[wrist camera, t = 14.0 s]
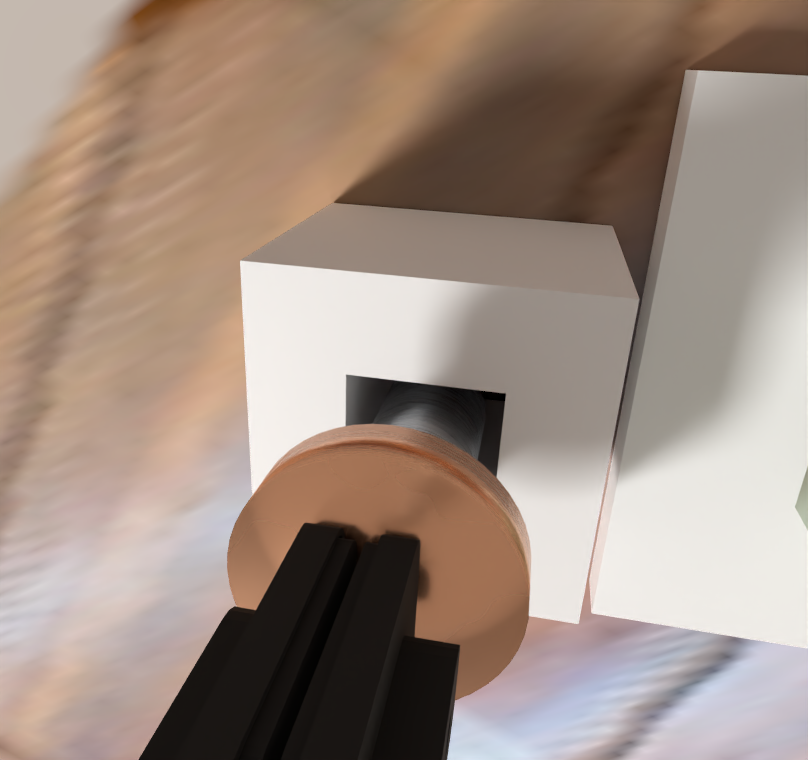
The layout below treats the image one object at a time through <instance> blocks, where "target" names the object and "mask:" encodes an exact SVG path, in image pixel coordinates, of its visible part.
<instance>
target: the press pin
mask: <svg viewBox="0 0 808 760" xmlns="http://www.w3.org/2000/svg"><path fill="white" fill-rule="evenodd" d="M485 418H486V407H485V402H484V398H483V396H482V394H481V392H480V390H472V389H464V388H455V387H447V386H439V385H430V384H422V383H413V382H405V381H397V380H395V381H394V382H393V384H392V386H391V387H390V389H389V391H388V393H387V395H386V397H385V399H384V401H383V403H382V405H381V407H380V409H379V411H378V413H377V415H376V417H375V419H374V421H373V423H372V424H359V425H350V426H344V427H339V428H334V429H331V430H328V431H325V432H322V433H319V434H316V435H314V436H312V437H310V438H308V439H306V440H304V441H302V442H301V443H299V444H298V445H296V446H295V447H293V448H292V449H290V450H289V451H288V452H287V453H286V454H285V455H284V456H282V457H281V458H280V459H279V460H278V461H277V462H276V464H275V465H274V466H273V468H272V469H271V470H270V471H269V473H268V474H267V475H266V477H265V478H264V480H263V481H262V483H261V484H260V485H259V487H258V488H257V490H256V491H255V493H254V494H253V496H252V497H251V498H250V500H249V501H248V503H247V504H246V506H245V507H244V508H243V510H242V512H241V514H240V515H239V517H238V519H237V521H236V523H235V525H234V528H233V531H232V534H231V537H230V541H229V547H228V553H227V570H228V577H229V583H230V587H231V591H232V594H233V598H234V601H235V603H236V605H237V607H241V608H247V609H253V610H256V609H257V607H258V605H259V603H260V602H261V600H262V598H263V596H264V594H265V592H266V591H267V589H268V587H269V585H270V583H271V581H272V580H273V578H274V576H275V574H276V572H277V570H278V569H279V567H280V565H281V563H282V561H283V559H284V558H285V556H286V554H287V552H288V550H289V549H290V547H291V545H292V543H293V541H294V539H295V538H296V536H297V534H298V532H299V530H300V528H301V527H302V525H303V524H304V523H313V524H320V525H326V526H333V527H340V528H343V529H344V534H345V539H350V540H355V541H356V546H357V553H356V565H357V562H358V560H359V557H360V554H361V552H362V549H363V547H364V545H365V543H366V542H370V543H377V544H378V542H379V539H380V537H381V535H382V534H386V535H393V536H400V537H406V538H413V539H420V543H421V548H420V563H419V579H418V594H417V609H416V623H415V637H417V638H423V639H428V640H434V641H440V642H446V643H452V644H458V645H460V655H459V666H458V675H457V685H456V694H455V700H457V699H460V698H462V697H464V696H467V695H469V694H471V693H473V692H475V691H477V690H478V689H480V688H482V687H484V686H485V685H487V684H488V683H489V682H491V681H492V680H493V679H494V678H495V677H497V676H498V675H499V674H500V673H501V672H502V671H503V670H504V669H505V668H506V666H507V665H508V664H509V663H510V662H511V660H512V659H513V657H514V656H515V654H516V652H517V651H518V649H519V647H520V645H521V642H522V640H523V638H524V635H525V631H526V627H527V623H528V617H529V601H530V579H531V548H530V540H529V536H528V532H527V528H526V525H525V522H524V520H523V518H522V515H521V513H520V511H519V508H518V507H517V505H516V504H515V502H514V500H513V499H512V497H511V495H510V494H509V492H508V491H507V490H506V489H505V487H504V486H503V485H502V484H501V482H500V481H499V480H498V479H497V478H496V477H495V476H494V475H493V474H492V473H491V472H490V471H489V470H488V469H487V468H486V467H485V466H484V465H483V464H481V463H480V462H479V461H477V460H478V455H479V449H480V444H481V439H482V434H483V429H484V423H485Z"/></svg>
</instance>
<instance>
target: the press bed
mask: <svg viewBox="0 0 808 760" xmlns="http://www.w3.org/2000/svg"><path fill="white" fill-rule="evenodd" d="M240 268H241V287H242V307H243V326H244V346H245V365H246V385H247V404H248V424H249V443H250V463H251V482H252V496H253V494H254V493H255V491H256V490H257V488H258V487H259V485H260V484H261V483H262V481H263V480H264V478H265V477H266V475H267V474H268V473H269V471H270V470H271V469H272V468H273V466H274V465H275V464H276V462H277V461H278V460H279V459H280V458H281V457H282V456H284V455H285V454H286V453H287V452H288V451H289V450H290V449H292V448H293V447H295V446H296V445H298V444H299V443H301V442H302V441H304V440H306V439H308V438H310V437H312V436H314V435H316V434H319V433H322V432H325V431H328V430H331V429H334V428H339V427H344V426H350V425H359V424H372V423H373V421H374V419H375V417H376V415H377V413H378V411H379V409H380V407H381V405H382V403H383V401H384V399H385V397H386V395H387V393H388V391H389V389H390V387H391V386H392V384H393V382H394V381H395V380H397V381H405V382H413V383H422V384H430V385H439V386H447V387H455V388H464V389H472V390H480V391H489V392H497V393H506V399H505V401H498V400H490V399H484V402H485V407H486V418H485V423H484V429H483V434H482V439H481V444H480V449H479V455H478V460H477V461H479V462H480V463H481V464H483V465H484V466H485V467H486V468H487V469H488V470H489V471H490V472H491V473H492V474H493V475H494V476H495V477H496V478H497V479H498V480H499V481H500V482H501V484H502V485H503V486H504V487H505V489H506V490H507V491H508V492H509V494H510V495H511V497H512V499H513V500H514V502H515V504H516V505H517V507H518V508H519V511H520V513H521V515H522V518H523V520H524V522H525V525H526V528H527V532H528V536H529V540H530V548H531V579H530V601H529V616H533V617H539V618H545V619H551V620H557V621H563V622H569V623H575V624H579V618H580V613H581V608H582V603H583V597H584V592H585V587H586V581H587V576H588V571H589V565H590V560H591V555H592V549H593V544H594V539H595V533H596V528H597V523H598V517H599V512H600V507H601V501H602V496H603V491H604V485H605V480H606V475H607V469H608V464H609V459H610V453H611V448H612V443H613V437H614V432H615V427H616V421H617V416H618V411H619V405H620V400H621V395H622V390H623V384H624V379H625V374H626V368H627V363H628V358H629V352H630V347H631V342H632V336H633V331H634V326H635V320H636V315H637V310H638V304H639V297H638V294H637V291H636V288H635V286H634V283H633V280H632V277H631V275H630V272H629V269H628V267H627V264H626V261H625V258H624V256H623V253H622V250H621V247H620V245H619V242H618V239H617V237H616V234H615V231H614V228H613V226H610V225H598V224H585V223H573V222H561V221H549V220H536V219H524V218H512V217H500V216H487V215H475V214H463V213H451V212H438V211H426V210H414V209H402V208H389V207H377V206H365V205H353V204H340V203H331V204H330V205H328V206H326V207H325V208H323V209H322V210H320V211H319V212H317V213H315V214H314V215H312V216H311V217H309V218H307V219H306V220H304V221H303V222H301V223H299V224H298V225H296V226H295V227H293V228H291V229H290V230H288V231H287V232H285V233H283V234H282V235H280V236H279V237H277V238H275V239H274V240H272V241H271V242H269V243H267V244H266V245H264V246H263V247H261V248H260V249H258V250H256V251H255V252H253V253H252V254H250V255H248V256H247V257H245V258H244V259H242V260H240ZM807 467H808V76H805V75H784V74H763V73H743V72H722V71H701V70H685V76H684V81H683V86H682V92H681V97H680V102H679V107H678V113H677V118H676V123H675V129H674V134H673V139H672V144H671V150H670V155H669V160H668V166H667V171H666V176H665V181H664V187H663V192H662V197H661V202H660V208H659V213H658V218H657V224H656V229H655V234H654V239H653V245H652V250H651V255H650V261H649V266H648V271H647V276H646V282H645V287H644V292H643V297H642V303H641V308H640V313H639V319H638V324H637V329H636V334H635V340H634V345H633V350H632V356H631V361H630V366H629V371H628V377H627V382H626V387H625V393H624V398H623V403H622V408H621V414H620V419H619V424H618V429H617V435H616V440H615V445H614V451H613V456H612V461H611V466H610V472H609V477H608V482H607V488H606V493H605V498H604V503H603V509H602V514H601V519H600V525H599V530H598V535H597V540H596V546H595V551H594V556H593V561H592V567H591V572H590V577H589V582H590V597H591V611H592V613H593V614H599V615H605V616H612V617H618V618H624V619H630V620H636V621H642V622H648V623H654V624H660V625H667V626H673V627H679V628H685V629H691V630H697V631H703V632H709V633H716V634H722V635H728V636H734V637H740V638H746V639H752V640H758V641H764V642H771V643H777V644H783V645H789V646H795V647H801V648H807V649H808V530H807V528H806V526H805V525H804V523H803V521H802V519H801V517H800V515H799V514H798V512H797V510H796V508H795V505H796V502H797V499H798V495H799V492H800V489H801V486H802V483H803V480H804V476H805V473H806V470H807Z"/></svg>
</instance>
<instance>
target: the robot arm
mask: <svg viewBox="0 0 808 760" xmlns="http://www.w3.org/2000/svg"><path fill="white" fill-rule="evenodd" d="M420 548H421V543H420V539H413V538H406V537H400V536H393V535H386V534H382V535H381V537H380V539H379V542H378V544H377V543H370V542H366V543H365V545H364V547H363V549H362V552H361V554H360V557H359V560H358V562H357V565H356V553H357V546H356V541H355V540H350V539H345V534H344V529H343V528H340V527H333V526H326V525H320V524H313V523H304V524H303V525H302V527H301V528H300V530H299V532H298V534H297V536H296V538H295V539H294V541H293V543H292V545H291V547H290V549H289V550H288V552H287V554H286V556H285V558H284V559H283V561H282V563H281V565H280V567H279V569H278V570H277V572H276V574H275V576H274V578H273V580H272V581H271V583H270V585H269V587H268V589H267V591H266V592H265V594H264V596H263V598H262V600H261V602H260V603H259V605H258V607H257V609H256V610H253V609H247V608H241V607H233V608H232V609H230V610H229V611H228V612H227V614H226V615H225V616H224V618H223V619H222V621H221V623H220V624H219V626H218V628H217V629H216V631H215V633H214V634H213V636H212V638H211V639H210V641H209V643H208V644H207V646H206V648H205V649H204V651H203V653H202V654H201V656H200V658H199V659H198V661H197V663H196V664H195V666H194V668H193V669H192V671H191V673H190V675H189V676H188V678H187V680H186V681H185V683H184V685H183V686H182V688H181V690H180V691H179V693H178V695H177V696H176V698H175V700H174V701H173V703H172V705H171V706H170V708H169V710H168V711H167V713H166V715H165V716H164V718H163V720H162V721H161V723H160V725H159V726H158V728H157V730H156V731H155V733H154V735H153V736H152V738H151V740H150V741H149V743H148V745H147V746H146V748H145V750H144V751H143V753H142V755H141V756H140V758H139V760H447V756H448V749H449V742H450V734H451V727H452V719H453V711H454V703H455V694H456V685H457V675H458V666H459V655H460V645H458V644H452V643H446V642H440V641H434V640H428V639H423V638H417V637H415V623H416V609H417V594H418V579H419V563H420Z"/></svg>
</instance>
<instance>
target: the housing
mask: <svg viewBox="0 0 808 760" xmlns="http://www.w3.org/2000/svg"><path fill="white" fill-rule="evenodd" d="M795 508H796V510H797V512H798V514H799V515H800V517H801V519H802V521H803V523H804V525H805V526H806V528H807V530H808V467H807V470H806V473H805V476H804V480H803V483H802V486H801V489H800V492H799V495H798V499H797V502H796V505H795Z"/></svg>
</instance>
